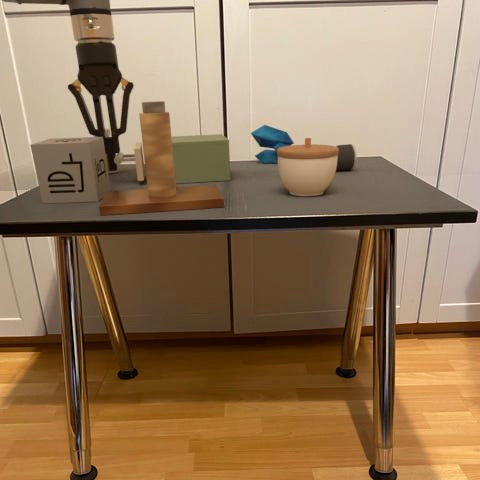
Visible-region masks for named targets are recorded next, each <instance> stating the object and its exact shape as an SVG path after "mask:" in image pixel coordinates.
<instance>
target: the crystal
mask: <svg viewBox="0 0 480 480" xmlns="http://www.w3.org/2000/svg"><path fill="white" fill-rule="evenodd" d="M250 134H251V136H252V137H253V139H254V141H256V143H257V144H258V146H259V147H260V148H265V149H263V150H261V151H260V152H258V153H257V154H255V155H254V157H255V158H256V159H257V160H258V161H260V162H261V163H262V164H263V165H267V164H268V165H269V164H270V165H271V164H272V165H273V164H275V165H276V164H277V165H278V155H277V149H278V148H280V147H284V146H291V145H295V143H294V141H293V139H292V137H291V136H290V134H289V133H288V131H284V130H281V129H279V128H276V127H272V126H269V125H266V124H264V125H262V126H260V127H259V128H256V129H254V130H253V131H252V132H250Z"/></svg>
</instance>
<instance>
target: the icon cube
mask: <svg viewBox="0 0 480 480" xmlns="http://www.w3.org/2000/svg"><path fill="white" fill-rule="evenodd" d="M29 146H30V151H31V155H32V160H33V164H34V169H35V174H36V179H37V182H38V188H39V192H40V197H41V202H42V204H68V203H69V204H70V203H94V202H97V203H98V202H101V201H102V199H103V197H104V195H105V193H106V191H112V188H111V181H110V174H108V168H107V161H106V154H105V147H104V141H103V137H94V136H86V137H83V136H82V137H59V138H58V137H55V138H54V137H53V138H47V139H45V140H42V141H41V140H40V141H37V142H34V143H31V144H30V145H29Z"/></svg>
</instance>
